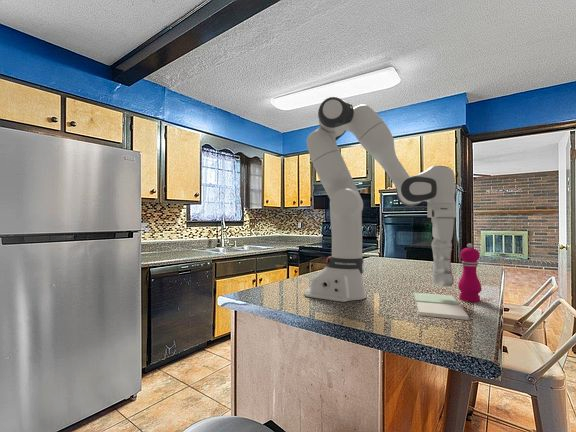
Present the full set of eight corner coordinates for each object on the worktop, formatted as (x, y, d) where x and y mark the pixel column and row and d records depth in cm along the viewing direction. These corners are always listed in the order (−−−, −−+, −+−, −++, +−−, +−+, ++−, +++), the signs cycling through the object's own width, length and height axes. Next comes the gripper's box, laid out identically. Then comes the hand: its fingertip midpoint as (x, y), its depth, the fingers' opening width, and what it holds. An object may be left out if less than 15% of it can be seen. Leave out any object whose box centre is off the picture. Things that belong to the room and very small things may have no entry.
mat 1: (415, 303, 106) (415, 300, 106) (413, 295, 117) (413, 292, 117) (459, 307, 102) (458, 303, 102) (452, 298, 113) (452, 295, 113)
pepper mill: (485, 303, 107) (485, 244, 107) (462, 301, 108) (462, 243, 109) (476, 297, 114) (477, 242, 114) (455, 296, 116) (455, 242, 116)
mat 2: (419, 315, 92) (419, 311, 92) (416, 304, 104) (416, 301, 104) (468, 320, 88) (468, 316, 88) (460, 308, 100) (460, 305, 100)
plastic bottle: (444, 289, 104) (442, 229, 105) (428, 285, 110) (426, 229, 111) (458, 287, 107) (456, 228, 107) (441, 284, 113) (440, 228, 113)
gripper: (428, 213, 120) (428, 249, 120) (435, 212, 101) (435, 255, 100) (446, 213, 118) (446, 250, 118) (457, 211, 99) (457, 255, 98)
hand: (441, 252), depth 109 cm, fingers closed on plastic bottle, 6 cm apart
